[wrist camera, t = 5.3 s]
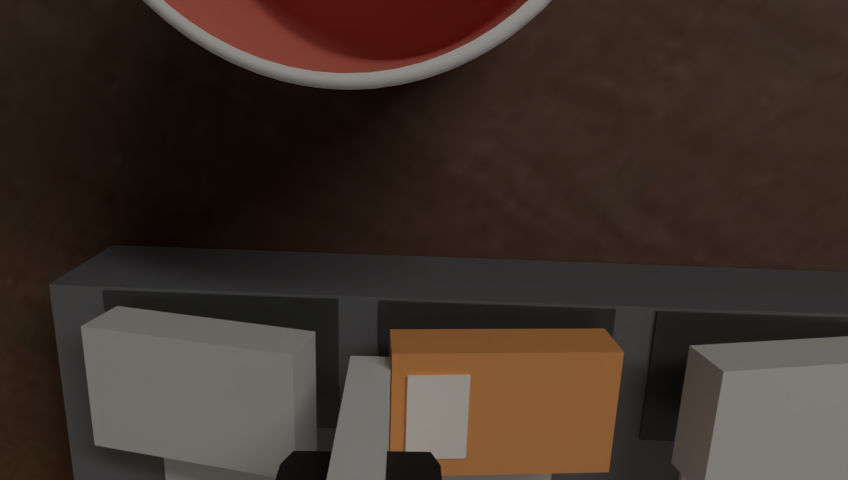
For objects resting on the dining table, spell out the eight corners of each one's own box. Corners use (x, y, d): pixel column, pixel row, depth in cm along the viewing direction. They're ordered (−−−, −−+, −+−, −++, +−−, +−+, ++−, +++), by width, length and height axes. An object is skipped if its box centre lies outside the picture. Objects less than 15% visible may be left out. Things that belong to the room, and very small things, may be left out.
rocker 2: (387, 445, 20) (389, 480, 18) (389, 329, 19) (392, 355, 17) (591, 441, 20) (609, 474, 19) (604, 328, 19) (625, 353, 18)
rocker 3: (671, 462, 19) (701, 496, 18) (689, 345, 18) (723, 371, 17) (854, 445, 20) (896, 475, 19) (881, 334, 19) (928, 357, 18)
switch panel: (132, 456, 26) (77, 532, 22) (111, 244, 24) (45, 287, 20) (817, 482, 26) (888, 563, 22) (865, 272, 24) (954, 321, 19)
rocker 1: (128, 417, 21) (94, 445, 19) (117, 305, 20) (80, 326, 18) (316, 449, 19) (295, 480, 18) (315, 331, 18) (293, 355, 17)
